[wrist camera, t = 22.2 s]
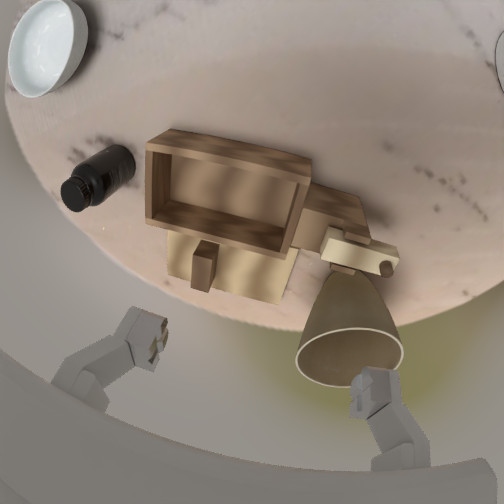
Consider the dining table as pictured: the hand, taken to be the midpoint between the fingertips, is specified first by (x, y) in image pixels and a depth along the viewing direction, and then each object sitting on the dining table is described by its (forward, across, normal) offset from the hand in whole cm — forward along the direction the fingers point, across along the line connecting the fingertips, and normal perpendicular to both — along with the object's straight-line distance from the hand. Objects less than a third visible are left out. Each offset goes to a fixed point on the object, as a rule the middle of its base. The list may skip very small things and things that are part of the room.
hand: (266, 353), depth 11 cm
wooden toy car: (+23, -10, +8) cm, 26 cm away
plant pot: (+31, -14, +21) cm, 40 cm away
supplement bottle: (+31, +27, +9) cm, 42 cm away
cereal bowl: (+32, +40, -12) cm, 52 cm away
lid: (+31, +6, +21) cm, 38 cm away
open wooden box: (+31, +4, +8) cm, 32 cm away
